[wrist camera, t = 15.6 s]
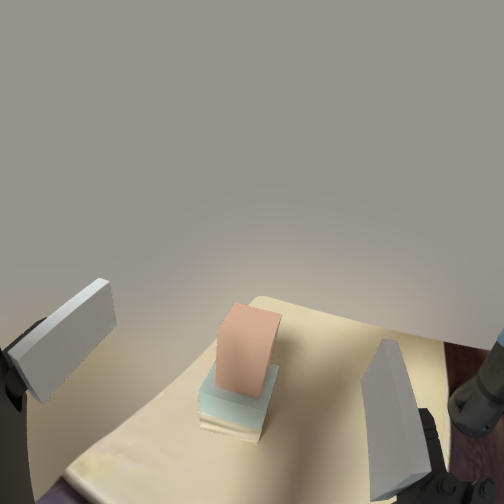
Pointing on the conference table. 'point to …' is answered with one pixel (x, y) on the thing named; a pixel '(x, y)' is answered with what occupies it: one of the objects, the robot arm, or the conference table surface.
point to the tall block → (245, 349)
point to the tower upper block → (236, 401)
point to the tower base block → (229, 428)
